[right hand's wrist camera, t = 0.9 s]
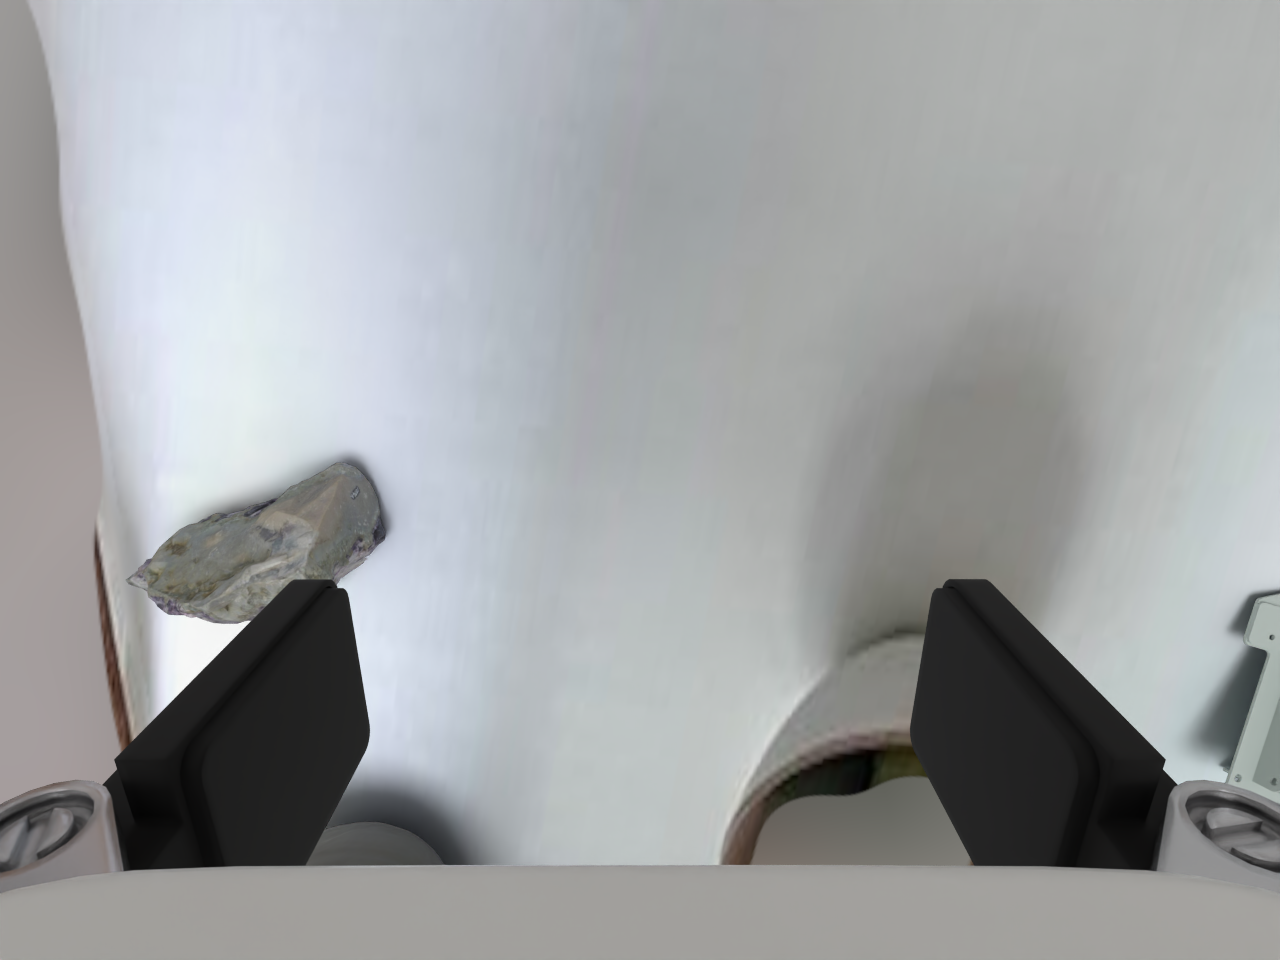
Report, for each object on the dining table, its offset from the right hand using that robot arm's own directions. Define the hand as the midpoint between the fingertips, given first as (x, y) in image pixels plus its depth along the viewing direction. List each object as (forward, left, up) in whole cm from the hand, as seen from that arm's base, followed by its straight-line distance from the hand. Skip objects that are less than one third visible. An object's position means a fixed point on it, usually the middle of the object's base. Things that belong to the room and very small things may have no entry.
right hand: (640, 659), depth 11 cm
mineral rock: (+8, -23, -30) cm, 39 cm away
